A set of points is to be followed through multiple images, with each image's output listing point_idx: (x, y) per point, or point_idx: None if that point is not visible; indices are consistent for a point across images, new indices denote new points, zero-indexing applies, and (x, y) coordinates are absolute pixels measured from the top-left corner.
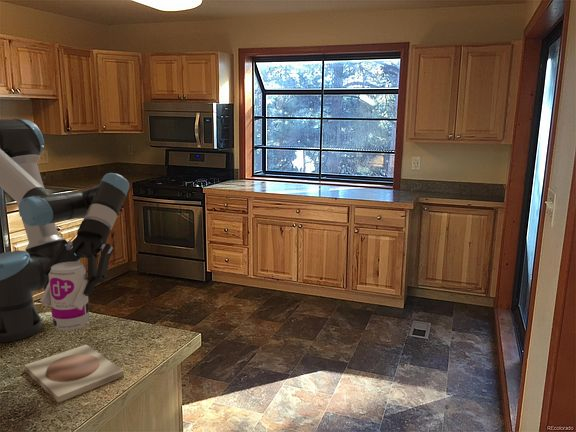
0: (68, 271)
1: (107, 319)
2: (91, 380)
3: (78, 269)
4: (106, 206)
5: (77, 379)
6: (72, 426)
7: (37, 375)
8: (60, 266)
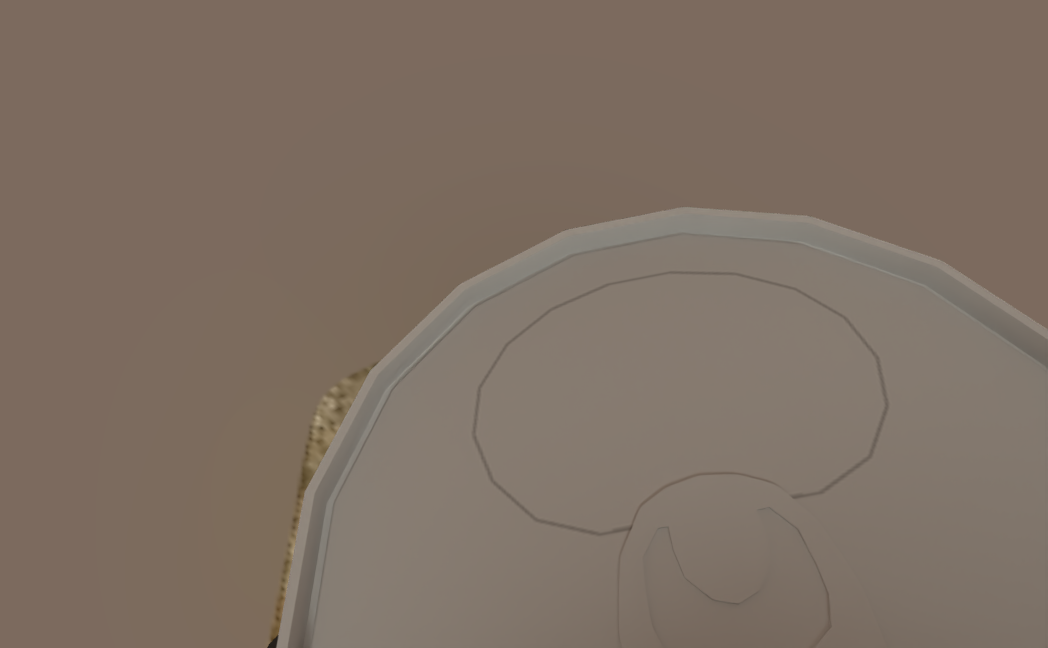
0: (426, 345)
1: None
2: None
3: (306, 574)
4: None
5: None
6: (338, 384)
7: None
8: (911, 488)
